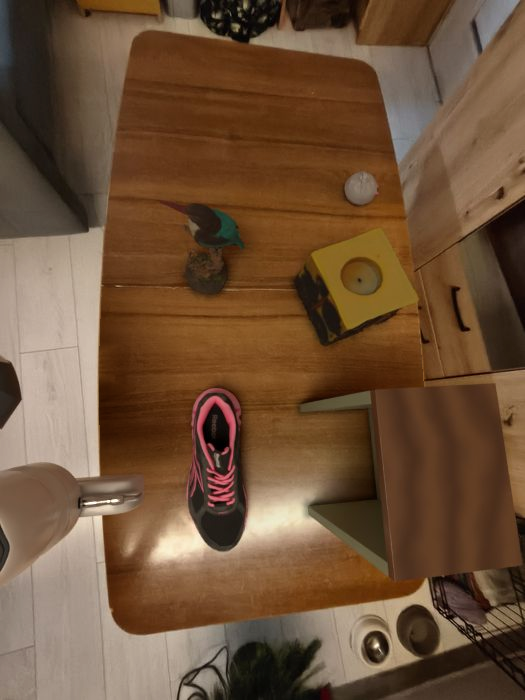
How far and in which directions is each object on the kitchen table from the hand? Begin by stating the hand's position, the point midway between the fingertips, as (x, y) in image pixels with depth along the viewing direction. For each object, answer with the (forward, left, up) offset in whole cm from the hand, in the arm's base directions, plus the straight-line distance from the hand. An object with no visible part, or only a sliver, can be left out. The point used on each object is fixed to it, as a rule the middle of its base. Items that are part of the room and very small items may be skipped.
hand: (72, 488), depth 57 cm
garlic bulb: (+52, +53, -17) cm, 76 cm away
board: (+44, 0, +16) cm, 47 cm away
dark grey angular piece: (+44, 0, -17) cm, 47 cm away
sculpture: (+19, +36, -17) cm, 44 cm away
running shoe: (+20, 0, -17) cm, 26 cm away
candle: (+46, +30, -17) cm, 57 cm away
